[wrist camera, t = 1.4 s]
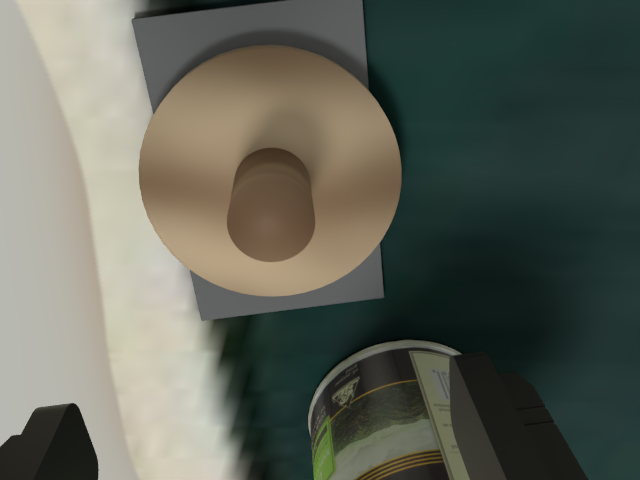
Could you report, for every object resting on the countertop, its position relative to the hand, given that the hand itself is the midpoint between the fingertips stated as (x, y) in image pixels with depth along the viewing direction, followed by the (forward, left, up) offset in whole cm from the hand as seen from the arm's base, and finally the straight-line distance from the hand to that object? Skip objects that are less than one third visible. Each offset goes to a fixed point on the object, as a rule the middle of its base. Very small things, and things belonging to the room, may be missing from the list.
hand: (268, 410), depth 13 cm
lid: (0, 0, -15) cm, 15 cm away
